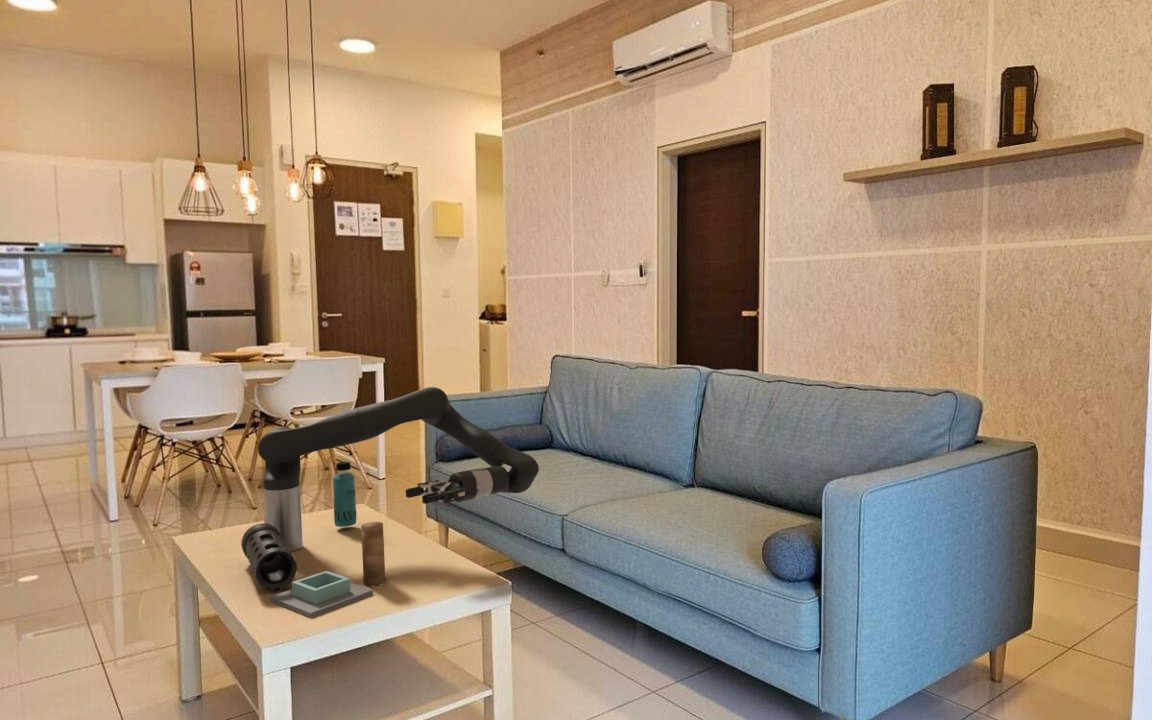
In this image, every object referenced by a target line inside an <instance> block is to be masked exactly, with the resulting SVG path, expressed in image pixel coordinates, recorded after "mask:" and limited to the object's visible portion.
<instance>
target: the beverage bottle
mask: <svg viewBox="0 0 1152 720" xmlns="http://www.w3.org/2000/svg"><path fill="white" fill-rule="evenodd" d="M335 465H336V467H335V471H338V472H339V471H347V472H339V473H336V474H335V475H334V476H333V477H332V490H333V505H332V506H333V513H334V514H333V522H334V526H336V527H339V528H341V527H342V528H346V527H350V526H351V527H352V526H354V525H356V524H357V520H358V519H357V517H358V516H357V515H358V514H357V505H356V496H357V495H356V493H357V492H356V487H355V484H356V481H355V479H356V478H355V475H354V474H353V473H351V472H349V471H348V470H351V469H352V468H351V462H350V461H338V462H336V464H335Z"/></svg>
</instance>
